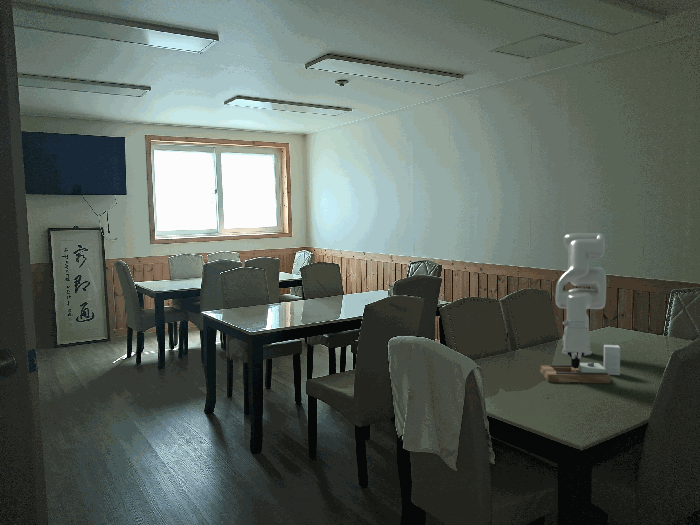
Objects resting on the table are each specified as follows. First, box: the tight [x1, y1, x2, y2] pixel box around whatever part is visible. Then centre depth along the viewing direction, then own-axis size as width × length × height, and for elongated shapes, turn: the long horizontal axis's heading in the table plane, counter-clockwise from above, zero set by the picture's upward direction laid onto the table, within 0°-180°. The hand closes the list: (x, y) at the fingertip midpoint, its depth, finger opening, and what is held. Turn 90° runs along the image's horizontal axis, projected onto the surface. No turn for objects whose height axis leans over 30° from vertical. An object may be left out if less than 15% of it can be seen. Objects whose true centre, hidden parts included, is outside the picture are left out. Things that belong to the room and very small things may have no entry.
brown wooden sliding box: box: [539, 364, 612, 384], centre depth 222 cm, size 14×24×4 cm, turn 83°
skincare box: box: [603, 344, 621, 376], centre depth 226 cm, size 6×4×12 cm
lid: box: [578, 361, 606, 373], centre depth 221 cm, size 9×9×3 cm
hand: (575, 367), depth 221 cm, fingers closed
